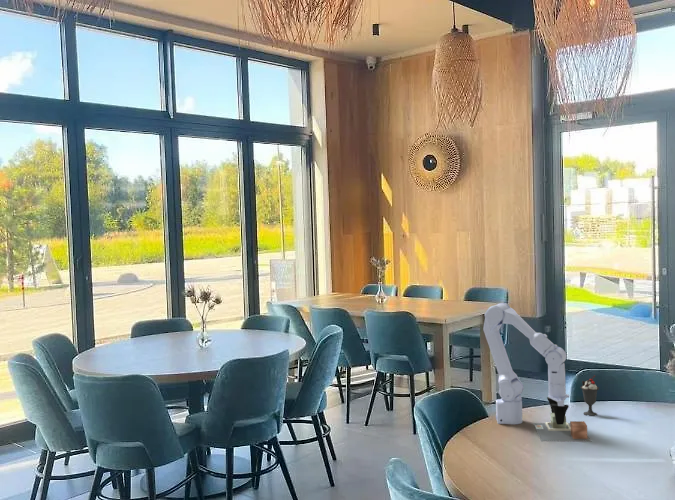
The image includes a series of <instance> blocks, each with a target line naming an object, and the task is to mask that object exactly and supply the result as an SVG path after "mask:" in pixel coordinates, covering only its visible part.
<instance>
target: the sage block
mask: <svg viewBox="0 0 675 500" xmlns="http://www.w3.org/2000/svg"><path fill="white" fill-rule="evenodd" d="M549 414H550V422H551V427H552V428H554V429H566V422H567V416H566V415H565V419H564V423H563V424H557V423H556V419H555V413H552V412H550V413H549Z"/></svg>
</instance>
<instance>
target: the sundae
mask: <svg viewBox="0 0 675 500" xmlns="http://www.w3.org/2000/svg"><path fill="white" fill-rule="evenodd" d="M595 377H596V375H593V376H592V377H591V378H589V379H588V380H586V381H584V380H582V385H581V386H580V389H581V390H582V394H583V396H582V397H583V400H584V403H585V404H586V405H588V410H587V411H585V412H583V415H585V416H587V415H589V417H596V416H598V412H594V410H593V405H594V404H595V403H596V401H597V394H598V391H599V389H600V387H599V386H597V384H596V383H595V381H594V378H595ZM595 415H596V416H595Z"/></svg>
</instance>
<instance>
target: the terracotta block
mask: <svg viewBox="0 0 675 500" xmlns="http://www.w3.org/2000/svg"><path fill="white" fill-rule="evenodd" d="M569 423H570V427H571V436H572V437H573V439H587V435H588V425H587V423H586V421H583V420H581V421H580V420H578V421H575V420H574V421H573V420H572V421H570V422H569Z"/></svg>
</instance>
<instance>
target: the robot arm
mask: <svg viewBox="0 0 675 500" xmlns="http://www.w3.org/2000/svg"><path fill="white" fill-rule="evenodd" d="M503 324H505V325H512V326H513V327H514V328H515V329H517V330H518V331H519V332H520V333H522V334H523V335H524V336H525V337H526V338H528V340H529V343H530V346H531V347H532V348H534V349H535V350H536V351H537V352H538V353H539V354H540V355H541V356H542V357H543V358H545V359H544V360H545V362H546V364H547V377H548V378H547V379H548V382H547V383H548V386H547V387H548V397H546V399H547V402H548V404H549V406H550V411H551V413H555V419H556V423H557V424H563V423H564V419H565V416H566V413H567V411H568V410H569V407H570V406H569V404H565V400H566V399H567V398H570V395H569V394H568V393H566V391H567V389H566V368H565V367H566V366H565V361H566V360H567V353H566V351H565V350H564V348H562V347H560V346H558V344H554V343H553V342H552V341H551V340H550V339H549V338H548V335H547V334H546V333H542V332H537V331H535V330H534V329H533V328H532V327H531V326H530V325H529V323H527V321H526V320H524V318H522V317H521V315H519V314H518V313H517V311H516V310H515V309H514V308H512V307H511V306H510V305H509V304H508V303H505V302H499V303H497V304H495V305H491V306H489V307H488V308H487V309H486V311H485V313H484V321H483V327H482V328H483V333H484V335H485V336H484V337H485V339H486V342H487V344H488V348H489V351H490V353H491V356H492V359H493V362H494V365H495V367H496V371H497V374H498V381H497V382H498V387H499V388H498V394H499V396H500V398H498V399H495V413H496V414H495V420H496V422H497V424H498V425H500V424H501V425H520V424H522V423H523V398H522V396H521V394H523V392H524V389H525V388H524V384H523V382H522V381H521V380H520V379H519V377H518V374H517V373H515V372H514V370H513V368H512V364H511V362H510V358H509V356H508V353H507V349H506V347H505V345H504V341H503V339H502V336H501V333H500V330H501V327H502V325H503Z"/></svg>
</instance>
